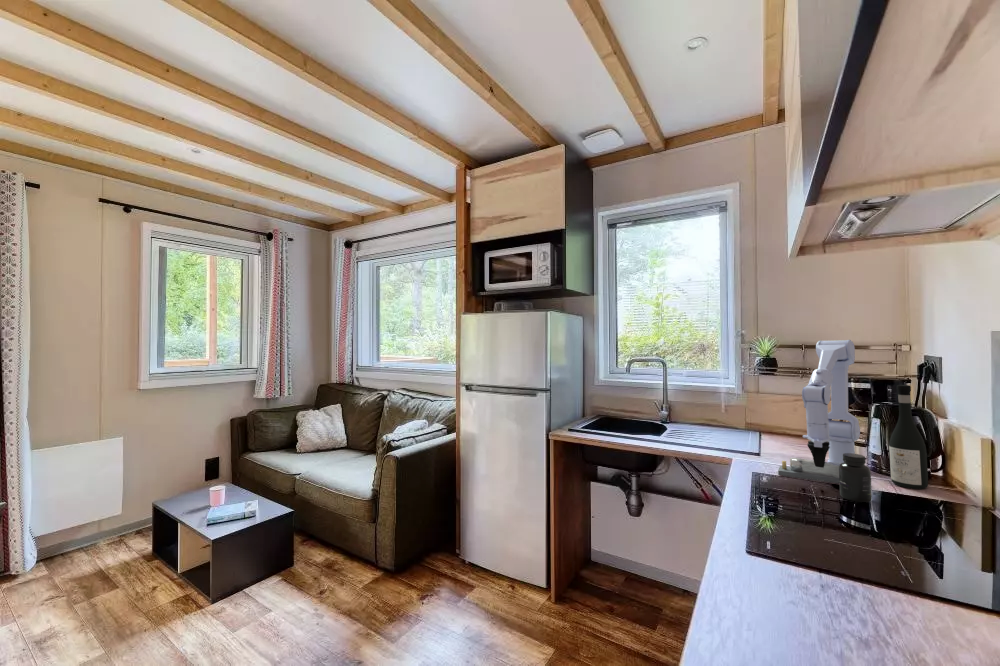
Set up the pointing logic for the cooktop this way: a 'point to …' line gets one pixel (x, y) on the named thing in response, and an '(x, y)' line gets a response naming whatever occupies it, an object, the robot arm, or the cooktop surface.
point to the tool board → (805, 474)
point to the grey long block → (814, 467)
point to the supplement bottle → (855, 478)
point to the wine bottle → (907, 447)
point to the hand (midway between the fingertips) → (819, 465)
